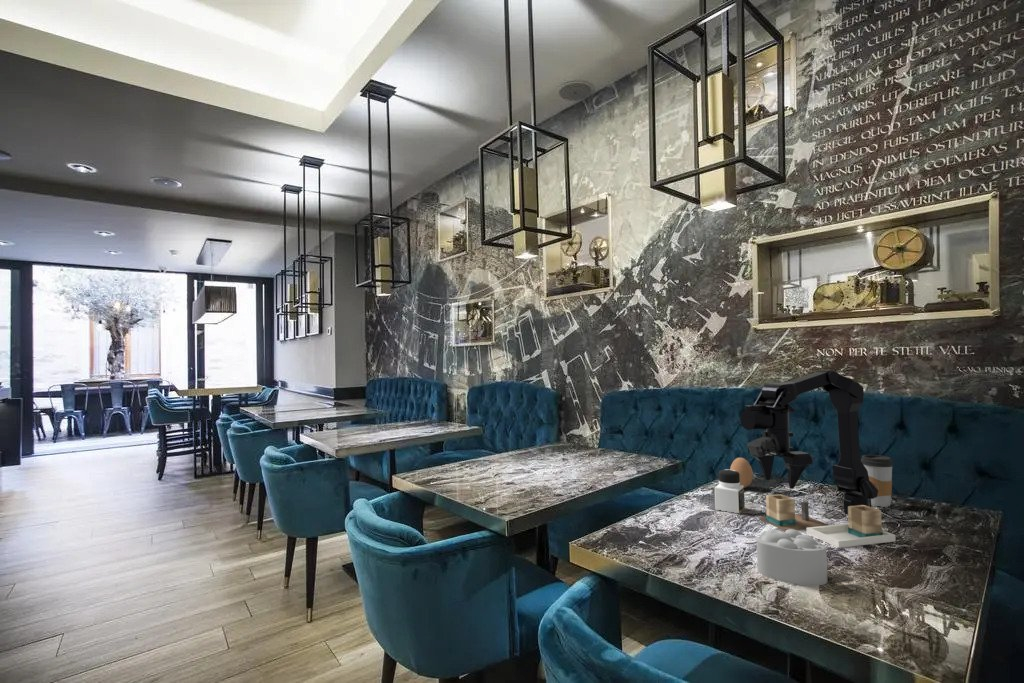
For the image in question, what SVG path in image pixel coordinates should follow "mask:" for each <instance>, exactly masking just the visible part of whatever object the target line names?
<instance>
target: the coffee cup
mask: <svg viewBox="0 0 1024 683" xmlns="http://www.w3.org/2000/svg"><path fill="white" fill-rule="evenodd" d="M860 460H861V462H862V463H863V465H864V466H865V468H866V469H867V471H868V476H869V480H870V482H871V483H872V484H873V485H874V486H875V487H876V488H877V489H878V495H877V497H876V498H874V499H871V505H874V506H873V507H875V506H881V507H880V508H883V507H885V508H888V507H887V506H889V507H890V506H891V504H892V491H893V480H892V479H893V467H894V466H893V461H892V460H891V457H889V456H886V455H878V454H877V455H876V454H864V455H862V456H861V458H860Z"/></svg>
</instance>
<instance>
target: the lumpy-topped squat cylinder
mask: <svg viewBox="0 0 1024 683" xmlns="http://www.w3.org/2000/svg"><path fill="white" fill-rule="evenodd" d="M756 556H757V562H756V564H757V573H758V574H760V575H761V574H762V576H764V577H766V578H770V579H772V578H773V580H777V581H780V582H784V583H788V584H793V585H797V586H814V587H815V586H823V585H826V584H827V583H828V582H829V580H828V560H827V548H826V546H825V545H824V544H823V543H821V542H819V541H817V540H815V539H814V538H813V536H811V535H809V534H802V532H800V531H799V530H794V529H788V530H786V531H783V530H779V529H775V528H770V529H768V530H765V531H762V532H761V533H760V536H758V537H757V538H756Z"/></svg>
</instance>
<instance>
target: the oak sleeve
mask: <svg viewBox="0 0 1024 683" xmlns="http://www.w3.org/2000/svg"><path fill="white" fill-rule="evenodd" d="M795 500H796V499H795V498H793V497H790V496H787V495H785V494H782V493H780V494H768V495H767V494H766V495H765V501H766V502H765V504H766V505H765V508H766V509H765V510H766V515H765V517H766V520H767V521H769V522H771V523H773V524H776V525H778V526H788V525H796V519H795V514H796V506H795V505H796V503H795Z"/></svg>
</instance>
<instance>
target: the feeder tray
mask: <svg viewBox="0 0 1024 683" xmlns="http://www.w3.org/2000/svg"><path fill="white" fill-rule="evenodd" d="M848 527H849V523H848V522H847V523H839V524H832V525H831V524H828V526H818V527H808V528H806V529H805V530H806V535H808V536H810V537H812V538H813V537H814V538H816V539H818V540H820V541H822V542H825V543H827V544H830V545H832V546H833V547H836V548H839V549H840V548H848V547H857V546H865V545H875V544H883V543H892V542H896V541H897V539H896V534H894V533H892V532H891V533H890V532H888V531H886V530H883V529H882V532H883V535H878V536H869V537H857V536H855V535H852V534H850V533H848Z"/></svg>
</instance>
